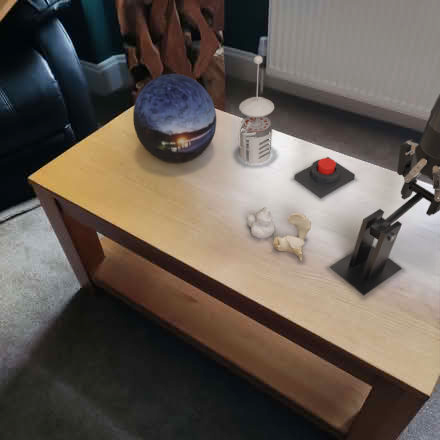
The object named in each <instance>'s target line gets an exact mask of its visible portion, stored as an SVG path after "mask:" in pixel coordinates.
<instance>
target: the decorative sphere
mask: <svg viewBox="0 0 440 440" xmlns="http://www.w3.org/2000/svg"><path fill="white" fill-rule="evenodd" d="M133 106H134V107H133V115H132V116H133V118H132V120H133V128H134V131H135V134H136V136H137V139H138V141H139V142H140V144H141V145H142V147H143V148H144V149H145V150H146V151H147V152H148V153H149V154H150V155H152V156H153V158H154V157H155V158H156V159H158V160H160V161H162V162H166V163H170V164H182V163H187V162H191V161H193V160H195V159H196V158H198V157H200V156H201V155H202V154H203V153H204V152H205V151H206V150H207V149H208V147H209V146H210V145H211V143H212V141H213V139H214V136H215V133H216V128H217V111H216V108H215V103H214V101H213V99H212V97H211V96H210V94H209V92H208V91H207V90H206V88H205V87H204V86H203V85H202V84H201V83H199V82H198V81H197V80H195V79H193V78H192V77H190V76H187V75H184V74H179V73H168V74H162V75H160V76H157V77H155V78H153V79H151V80H150V81H149V82H148V83H146V84H145V86H144V87H143V88H142V89H141V90H140V92H139V93H138V95H137V97H136V100H135V103H134V105H133Z"/></svg>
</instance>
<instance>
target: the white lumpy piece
mask: <svg viewBox="0 0 440 440" xmlns="http://www.w3.org/2000/svg"><path fill="white" fill-rule="evenodd" d="M246 218H247V219H246V220H247V225H248V226H249V227H250V233H251V235H252V236H254V237H255V238H259V239H262V238H263V239H266V238H269V237H271V236H272V235H274V233H275V230H276V227H275V223H274V221H273V216H272V214H271V212H270V211H269V209H268V208H267V207H266V206H264V207H263V208H261V209H259V210H258V211H257V212H256V213H255V214H251V213H250V214H248V215H247V217H246Z"/></svg>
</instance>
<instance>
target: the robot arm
mask: <svg viewBox="0 0 440 440" xmlns="http://www.w3.org/2000/svg"><path fill="white" fill-rule="evenodd" d="M429 113H430V114H429V117H428V119H427V122H426V125H425V128H424V130H423V132H422V135H421V136H420V137H421V138H420V141H419V143H416V141H415V140H414V139H413V138H411V139H409V140H407V141H405V142H403V143H402V144H401V145H400V147H399V155H398V162H397V164H398V165H397V170H396V171H397V172H396V174H397V175H398V176H402V177H403V181H404V182H403V184H402V187H401V190H400V195H401V197H400V198H401V199H402V200H407V199H409V198H410V197H411V196H412V195H413V193H414V192H413V191H412V190H410V186H411V185H412V184H413V183H416V184H418V180H417V178H418V177H419V176H421V174H422V175H423V176H426V177H428V178H429V179H430V180H431V181H432V189H433V190H434V193H433V194H434V199H432V201H431V202H430V203H429V206H428V208H427V210H426V212H425V214H426V215H427V216H429V217H430V216H433V215H436V214H437V213H438V212H440V93H439V94H438V96H437V98H436V100H435V101H434V104H433V107H432V108H431V110H430V112H429ZM414 155H415V158H416V164H415V165H414V166H413V161H414Z"/></svg>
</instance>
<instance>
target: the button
mask: <svg viewBox="0 0 440 440" xmlns="http://www.w3.org/2000/svg"><path fill="white" fill-rule="evenodd" d="M329 158H330V157H329ZM329 158H327V157H324V158H321V159H318V160H319V162H318V167H317V170H318V172H320V173H321V174H326V175H327V174H332V173H333V172H334V171H335V166H336V163H335V162H336V161H335V160H334V159H332V158H331V159H329Z"/></svg>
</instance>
